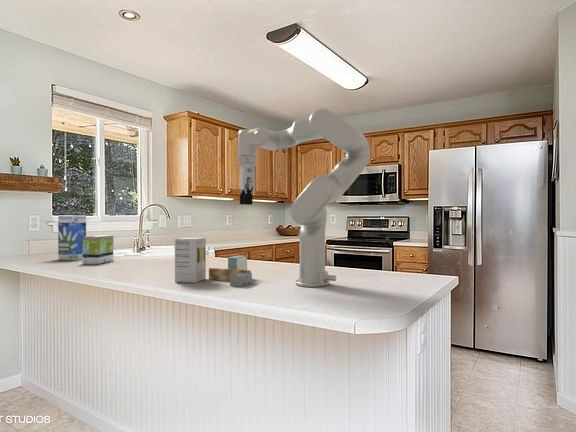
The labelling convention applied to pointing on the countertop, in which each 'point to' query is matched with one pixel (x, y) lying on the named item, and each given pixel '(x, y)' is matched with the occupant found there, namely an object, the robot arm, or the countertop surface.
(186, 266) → the supplement box
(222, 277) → the rail
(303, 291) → the countertop surface
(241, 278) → the grey rounded block
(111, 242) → the tea box
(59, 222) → the string lights box
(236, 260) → the book
